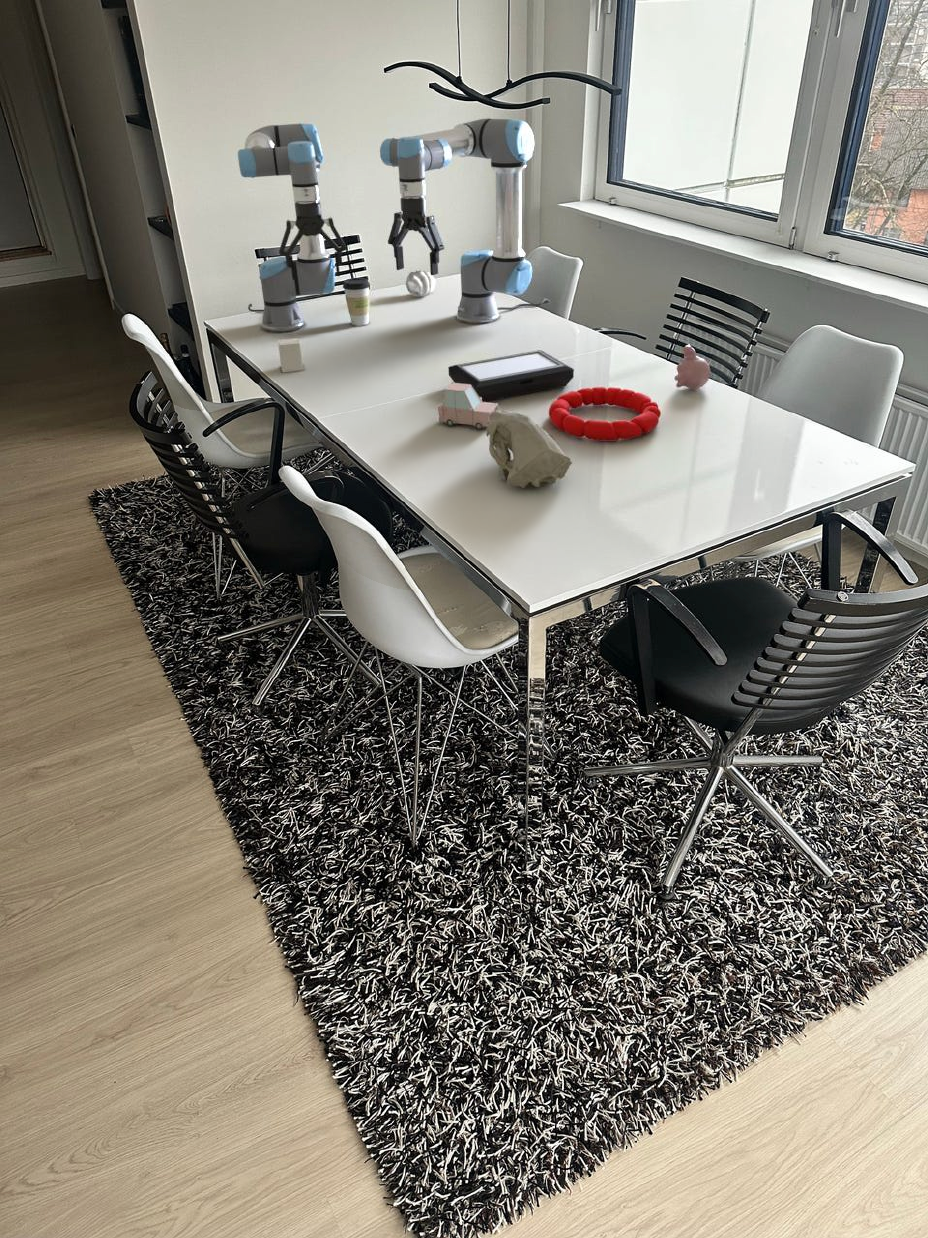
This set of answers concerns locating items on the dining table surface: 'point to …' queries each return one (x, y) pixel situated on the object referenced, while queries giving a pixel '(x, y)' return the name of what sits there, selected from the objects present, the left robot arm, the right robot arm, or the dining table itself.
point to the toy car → (465, 406)
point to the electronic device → (512, 374)
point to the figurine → (692, 370)
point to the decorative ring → (604, 428)
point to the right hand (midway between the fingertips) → (417, 271)
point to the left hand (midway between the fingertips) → (316, 276)
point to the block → (290, 355)
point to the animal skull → (525, 450)
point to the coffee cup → (357, 300)
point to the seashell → (420, 283)
